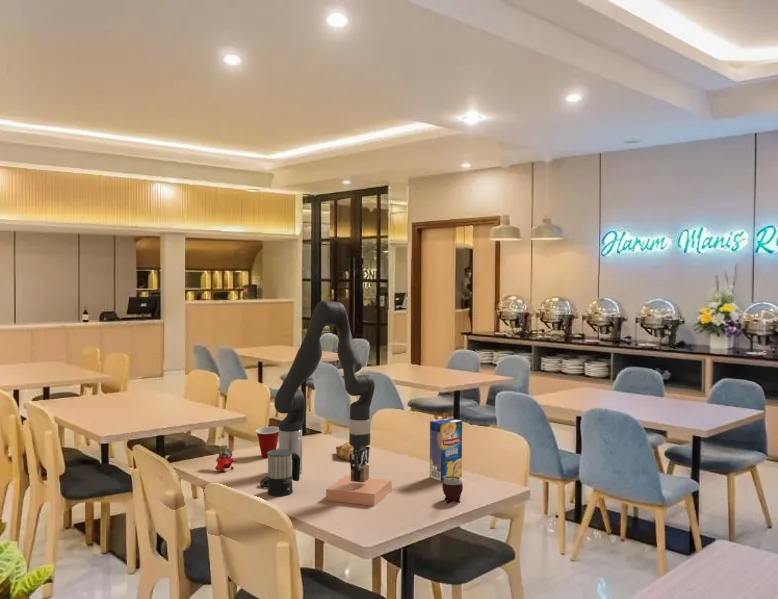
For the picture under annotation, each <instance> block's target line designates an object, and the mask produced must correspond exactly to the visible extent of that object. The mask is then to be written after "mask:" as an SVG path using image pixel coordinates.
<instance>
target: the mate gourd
mask: <svg viewBox="0 0 778 599" xmlns="http://www.w3.org/2000/svg"><path fill="white" fill-rule="evenodd" d="M456 465H457V462H456V463H455V465H454V467H453V475H452V476H449V477H446V478H445V479H444V481H442V485H441V486H442V487H441V488H442V492H443V494H444V500H445V501H446V504H450V503H457V504H460V503H461V501H460V499H461V496H462V493H463V488H464V485H463V481H462V479H461V477H455V476H454V472H455V468H456V467H455V466H456Z"/></svg>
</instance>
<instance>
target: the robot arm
mask: <svg viewBox="0 0 778 599" xmlns="http://www.w3.org/2000/svg"><path fill="white" fill-rule="evenodd" d="M346 310H347V309H346V307H345V306H344V304H343V303H341V302H340V301H330V300H321V301H319V302H318V303H317V304H316V306H315V307H314V309H313V311H312V315H311V317H310V322H309V324H308V327H307V330H306V333H305V334H304V338H303V340H302V343H301V344H300V346H299V348H298V350H297V353H296V355H295V357H294V360H293V362H292V364H291V366H290V368H289V370H288V372H287V375H286V377H285V378H284V380H283V382H282V384H281V386H280V387H279V389H278V390H277V392H276V394H275V397H274V401H273V402H274V408H275V412H277V413H278V414H286V415H285V417H284V419H282V420H281V421H279V423H278V427H279V436H278V448H277V449H287V450H291V451H292V452H293V453H296V454H298V455H299V457H300V474H301V473H303V424H304V422H305V408H306V407H305V406H306V400H305V395H304V393H303V391H302V390H301V389H300V387H301V386H302V385H303V384H304V383H305V382H306V380H308V379H309V378H310V377H311V376H312V375H313V374H314V372H316V370H317V368H318V366H319V364H320V361H321V360H322V356H323V350H322V344H321V336H322V333H323V330H324V329H325V327H326V326H328V327H330V326H331V327H335V328H336V331H337V333H338V343H337V347H336V350H337V357H338V359H339V363H340V365H341V368H342V371H343V372H342V373H343V379H344V380H343V381H344V390H345V391H346V393H347V394H348V395H349V396H352V397H356V396H359V398H358V399H357V400H356V401H354V402H352V403H350V406H349V423H348V425H349V427H348V429H349V430H348V432H349V433H348V434H349V436H348V438H349V439H348V442H349V444H350V445H351V446H353V447H354V449H353V454H350V460H349V465H350V471H351V470H354V481H360V467H361V464H363V465H368V464H369V459H370V458H369V457H370V446H369V445H371V420H370V418H371V417H370V416H371V414H370V413H371V411H370V410H371V409H370V408H371V405H372V401H373V396H374V393H375V386H376V385H375V383H376V382H375V381H374V378H373V377H372V375H369V374H361V375H356V373H358V372H360V371H361V369H362V367H363V365H362V361H361V359H360V357H359V353H358V351H357V349H356V346H355V343H354V340H353V339H354V338H353V335H352V332H351V326H350V322H349V317H348V314H347V311H346ZM358 461H359V462H358ZM355 465H356V467H355Z"/></svg>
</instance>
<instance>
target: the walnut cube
mask: <svg viewBox="0 0 778 599" xmlns="http://www.w3.org/2000/svg"><path fill="white" fill-rule="evenodd" d="M355 467H356V465H355ZM350 476H351V481H353V482H363V483H364V482H365V481H367V480H368V479H369V478H370V465H369V464H367V465H363V464H361V467H360V481H354V470H351V469H350Z"/></svg>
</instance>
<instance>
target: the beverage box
mask: <svg viewBox="0 0 778 599" xmlns="http://www.w3.org/2000/svg"><path fill="white" fill-rule="evenodd" d="M456 462H457V465H456V466H455V467H456V468H455V472H454V476H455V477H459V478H461V477H463V420H461V419H456V418H452V417H449V418H444V419H443V418H441V419H437V420H436V419H435V420H430V421H429V478H431V479H433V480H437V481H439V482H443V481H444V479H445V478H446V477H449V476H452V475H453V467H454V465H455V463H456Z"/></svg>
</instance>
